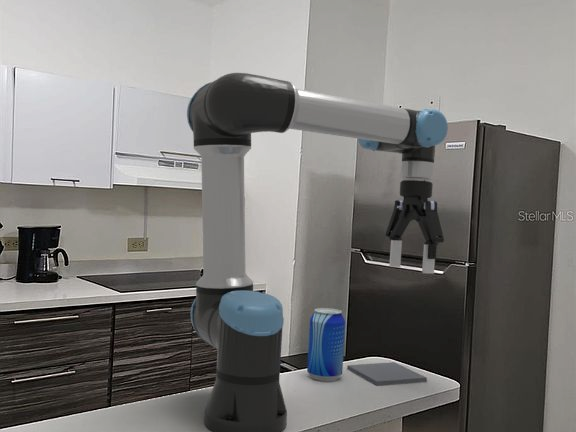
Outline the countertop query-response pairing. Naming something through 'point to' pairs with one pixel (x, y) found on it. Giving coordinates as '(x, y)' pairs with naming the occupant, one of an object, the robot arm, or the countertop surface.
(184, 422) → the countertop surface
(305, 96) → the robot arm
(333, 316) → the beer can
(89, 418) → the countertop surface
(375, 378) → the mat
